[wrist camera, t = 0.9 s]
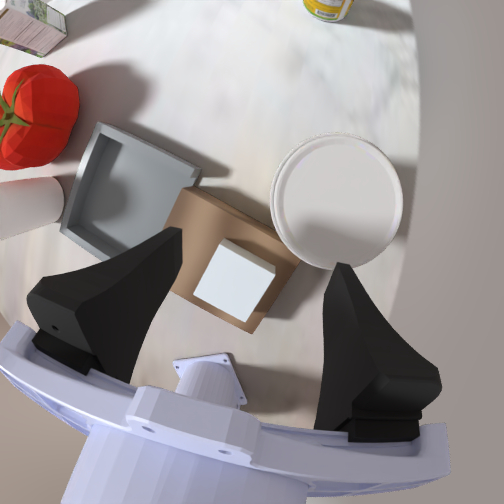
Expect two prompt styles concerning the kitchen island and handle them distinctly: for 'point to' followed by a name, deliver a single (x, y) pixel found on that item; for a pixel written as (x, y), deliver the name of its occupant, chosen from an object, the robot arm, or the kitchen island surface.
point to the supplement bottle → (328, 9)
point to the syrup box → (31, 26)
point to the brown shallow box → (208, 239)
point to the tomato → (36, 116)
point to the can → (29, 205)
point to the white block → (235, 280)
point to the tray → (122, 192)
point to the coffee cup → (336, 200)
